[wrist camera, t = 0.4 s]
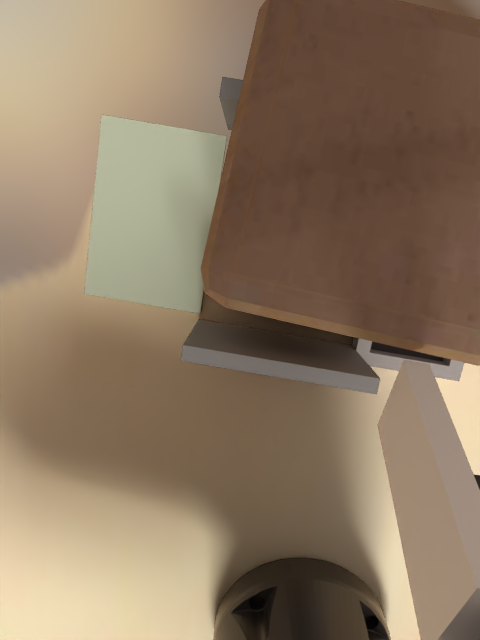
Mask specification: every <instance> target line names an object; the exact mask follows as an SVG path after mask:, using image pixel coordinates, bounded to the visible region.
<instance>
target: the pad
mask: <svg viewBox="0 0 480 640" xmlns="http://www.w3.org/2000/svg"><path fill="white" fill-rule="evenodd" d="M226 141H227V136H224V135H218V134H213V133H207V132H201V131H195V130H189V129H183V128H177V127H171V126H166V125H160V124H154V123H148V122H142V121H137V120H131V119H125V118H118V117H113V116H107V115H102V116H101V127H100V137H99V147H98V157H97V167H96V178H95V187H94V197H93V208H92V218H91V228H90V238H89V248H88V258H87V268H86V279H85V289H84V294H88V295H93V296H99V297H105V298H111V299H117V300H123V301H129V302H134V303H140V304H146V305H152V306H158V307H164V308H169V309H175V310H181V311H187V312H193V313H199V314H200V312H201V305H202V298H203V292H204V286H203V280H202V274H201V264H202V260H203V256H204V251H205V247H206V242H207V238H208V234H209V229H210V225H211V220H212V216H213V212H214V207H215V203H216V198H217V194H218V189H219V185H220V180H221V174H222V167H223V160H224V154H225V147H226Z"/></svg>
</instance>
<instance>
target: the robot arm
mask: <svg viewBox="0 0 480 640" xmlns="http://www.w3.org/2000/svg"><path fill="white" fill-rule="evenodd" d="M378 429H379V434H380V439H381V444H382V449H383V454H384V459H385V464H386V469H387V473H388V478H389V483H390V488H391V493H392V498H393V503H394V508H395V513H396V518H397V523H398V528H399V533H400V538H401V543H402V548H403V553H404V558H405V563H406V568H407V573H408V578H409V583H410V588H411V593H412V598H413V603H414V608H415V613H416V618H417V623H418V628H419V633H420V638H421V640H480V475H474V474H473V472H472V470H471V467H470V465H469V462H468V460H467V457H466V455H465V452H464V449H463V447H462V444H461V442H460V439H459V437H458V434H457V432H456V429H455V427H454V424H453V422H452V419H451V417H450V414H449V412H448V409H447V407H446V404H445V402H444V399H443V397H442V394H441V392H440V389H439V387H438V384H437V382H436V379H435V377H434V374H433V372H432V369H431V367H430V364H428V363H422V362H416V361H410V360H403V362H402V365H401V368H400V370H399V373H398V375H397V378H396V380H395V383H394V385H393V388H392V390H391V393H390V395H389V398H388V401H387V403H386V406H385V408H384V411H383V413H382V416H381V418H380V421H379V423H378ZM213 640H391V638H390V633H389V630H388V627H387V624H386V621H385V618H384V615H383V612H382V609H381V607H380V604H379V602H378V600H377V599H376V597H375V595H374V594H373V593H372V591H371V590H370V589H369V588H368V587H367V585H365V584H364V583H363V582H362V581H361V580H360V579H359V578H358V577H356V576H355V575H353V574H352V573H350V572H349V571H347V570H345V569H343V568H341V567H339V566H336V565H334V564H331V563H328V562H324V561H320V560H314V559H304V558H295V559H285V560H279V561H275V562H271V563H268V564H265V565H263V566H260V567H258V568H256V569H254V570H252V571H250V572H249V573H247V574H246V575H244V576H243V577H242V578H240V579H239V580H238V581H237V582H236V583H235V584H234V585H233V586H232V587H231V588H230V589H229V591H228V592H227V593H226V595H225V596H224V598H223V600H222V602H221V604H220V606H219V608H218V611H217V615H216V620H215V628H214V638H213Z"/></svg>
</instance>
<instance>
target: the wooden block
mask: <svg viewBox="0 0 480 640" xmlns="http://www.w3.org/2000/svg"><path fill="white" fill-rule="evenodd" d="M201 274H202V280H203V286H204V291H205V294H207V295H208V296H209V297H211V298H212V299H214V300H215V301H216V302H218V303H219V304H221V305H222V306H224V307H225V308H229V309H233V310H237V311H242V312H246V313H251V314H255V315H259V316H264V317H268V318H272V319H277V320H281V321H285V322H290V323H294V324H299V325H303V326H307V327H312V328H316V329H320V330H325V331H329V332H334V333H338V334H342V335H347V336H351V337H355V338H360V339H364V340H368V341H373V342H377V343H382V344H386V345H390V346H395V347H399V348H403V349H408V350H412V351H416V352H421V353H425V354H430V355H434V356H438V357H443V358H447V359H451V360H456V361H460V362H464V363H469V364H473V365H478V366H479V365H480V20H478V19H474V18H470V17H465V16H461V15H457V14H453V13H449V12H445V11H440V10H437V9H432V8H428V7H424V6H419V5H416V4H411V3H407V2H403V1H398V0H266V1H265V2H264V4H263V5H262V7H261V8H260V9H259V13H258V17H257V22H256V26H255V31H254V35H253V40H252V44H251V49H250V53H249V57H248V62H247V66H246V70H245V75H244V79H243V84H242V88H241V92H240V97H239V101H238V106H237V110H236V114H235V119H234V123H233V128H232V132H231V137H230V141H229V145H228V150H227V154H226V159H225V163H224V168H223V172H222V176H221V181H220V185H219V189H218V194H217V198H216V203H215V207H214V212H213V216H212V220H211V225H210V229H209V234H208V238H207V242H206V247H205V251H204V256H203V260H202V264H201Z"/></svg>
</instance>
